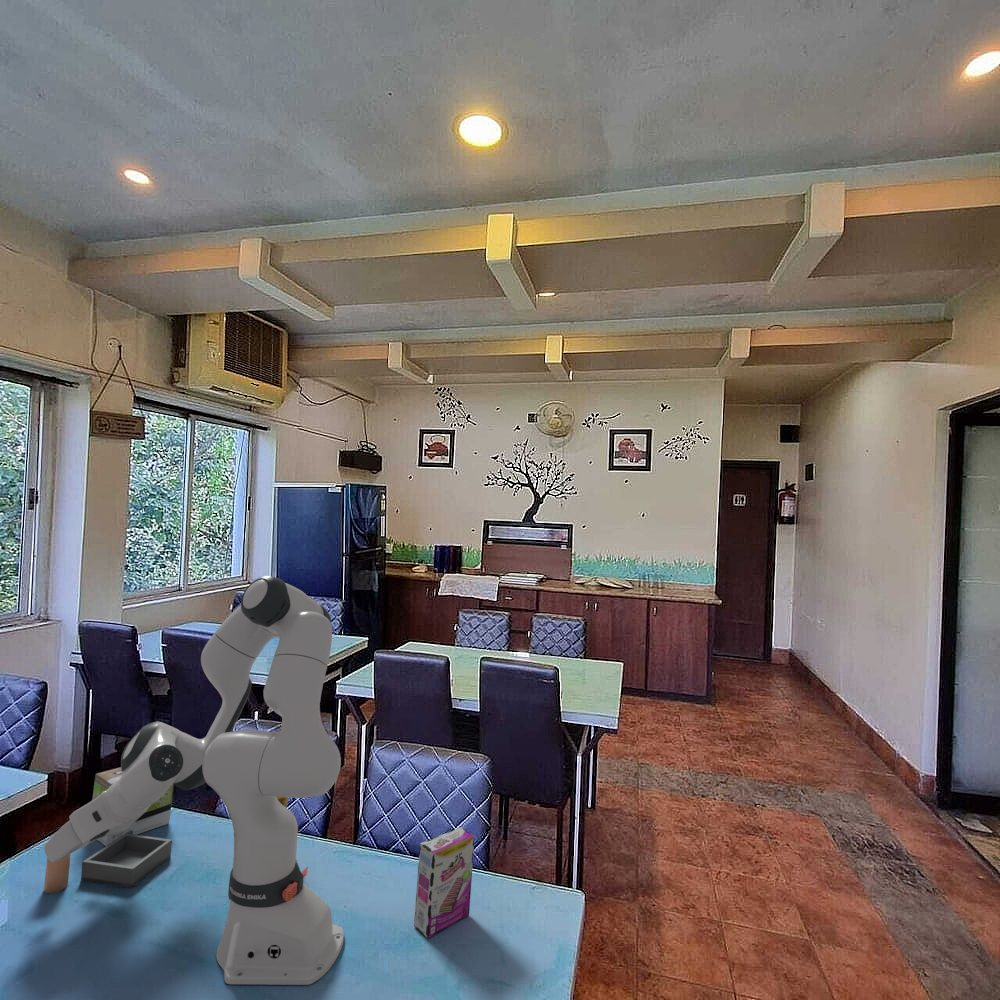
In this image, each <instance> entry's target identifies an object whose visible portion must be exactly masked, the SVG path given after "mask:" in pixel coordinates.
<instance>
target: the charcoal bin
mask: <svg viewBox="0 0 1000 1000" xmlns="http://www.w3.org/2000/svg"><path fill="white" fill-rule="evenodd" d="M172 844H173V839H168V838H163V837H157V836H156V837H155V836H148V835H141V834H137V835H134V834H127V833H126V834H124V835H122V836H121V837H119V838H118V839H116V840H115V841H113V842H112V843H110V844H109V845H107V846H104V847H103V848H101V849H100V850H98V851H96V852H95V853H93V854H92V855H91V856H89V857H87V858H86V859H84V860H83V861H82V862H81V863H82V865H81V874H80V875H81V877H80V882H86V883H94V884H98V885H105V886H106V885H107V886H113V887H119V888H127V889H132V888H134V887H135V886H136V885H137V884H138V883H140V882H142V881H143V879H145V878H146V877H148V876H149V875H150V874H151V873H152V872H154V871H155V870H156V869H158V868H159V867H160V866H161V865H163V864H164V863H165V862H167V861H168V860H170V859H171V856H172V847H173V846H172Z"/></svg>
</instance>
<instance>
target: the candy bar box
mask: <svg viewBox="0 0 1000 1000" xmlns="http://www.w3.org/2000/svg"><path fill="white" fill-rule="evenodd" d="M475 838H476V837H475V835H473V834H472V833H471V832H469V831H468V830H466V829H465V828H463V827H458V828H457V827H456V829H453V830H450V831H447V832H446V833H444V834H443V833H442V834H440V835H438V836H435V837H433V838H430V839H427V840H425V841H423V842H420V843H419V853H418V854H419V855H418V868H417V879H416V880H417V883H416V894H415V906H414V920H413V921H414V922H413V927H414V928H415V929H417V931H419V932H420V933H421V934H422V936H423V937H425V938H426V939H429V938H431V937H433V936H435V935H436V934H438V933H440V932H441V931H443V930H445V929H447V928H449V927H450V926H452V925H454V924H456V923H458V922H460V921H462V920H463V919H465V918H467V917H468V916H470V907H471V906H470V905H471V904H470V903H471V895H472V881H473V878H472V876H473V866H474V865H473V863H474V850H475V849H474V848H475Z"/></svg>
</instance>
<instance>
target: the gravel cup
mask: <svg viewBox="0 0 1000 1000" xmlns="http://www.w3.org/2000/svg"><path fill="white" fill-rule="evenodd" d="M71 854H72V853H70V854H69V855H67V856H66V857H65V858H63V859H61V860H59V861H56V862H51V861H50V860H49V859H48V857H47V856H46V868H45V878H44V886H43V889H44V890H43V892H44V893H46V894H56V893H58V892H61V891H64V890H65V889H66V888H67V887H68V886H69V876H70V866H71V856H72V855H71Z"/></svg>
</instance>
